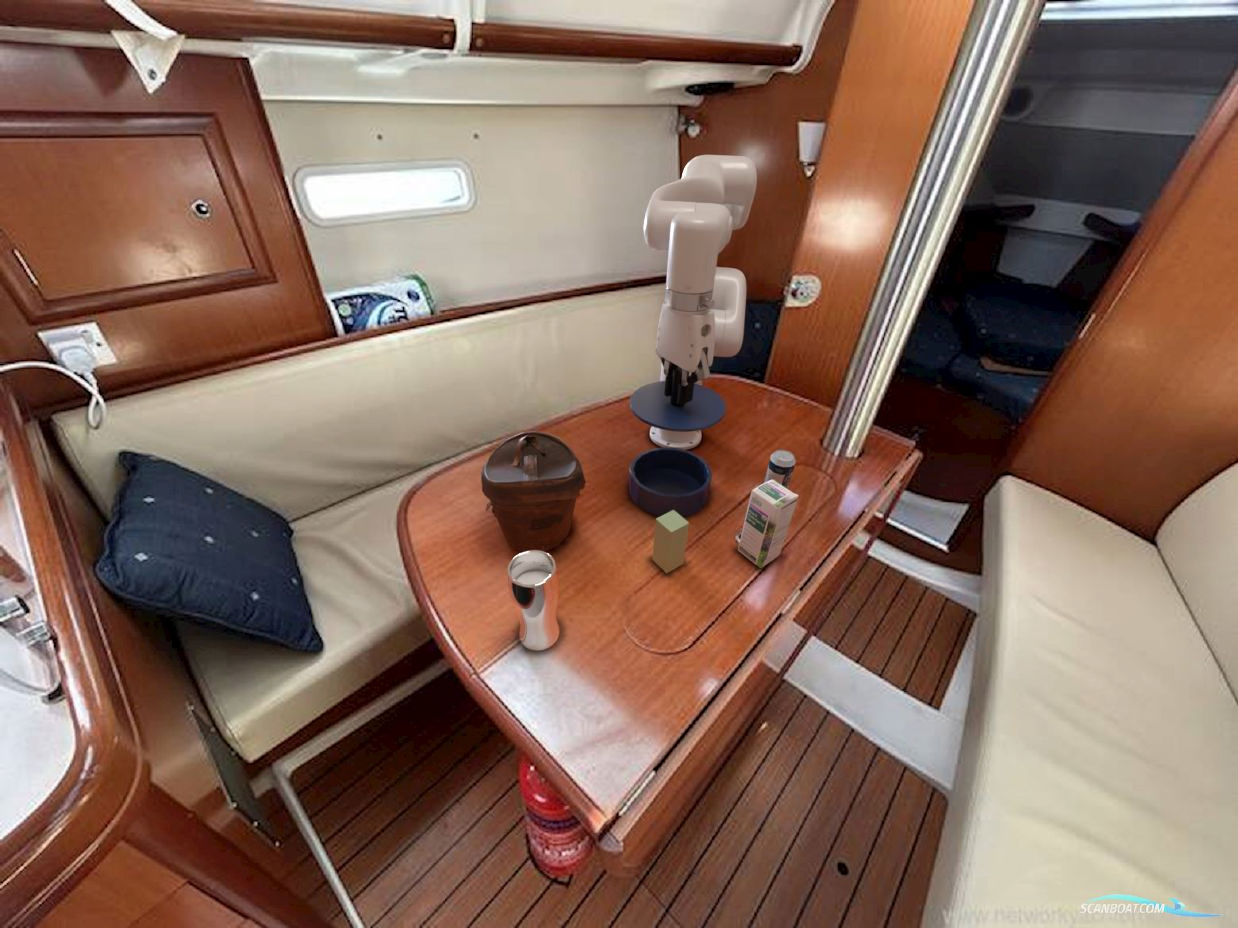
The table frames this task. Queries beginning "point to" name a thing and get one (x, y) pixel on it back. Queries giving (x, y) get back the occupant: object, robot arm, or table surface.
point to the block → (670, 541)
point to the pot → (669, 481)
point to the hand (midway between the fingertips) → (678, 397)
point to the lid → (677, 406)
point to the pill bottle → (781, 467)
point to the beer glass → (535, 597)
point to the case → (533, 489)
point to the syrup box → (766, 522)
